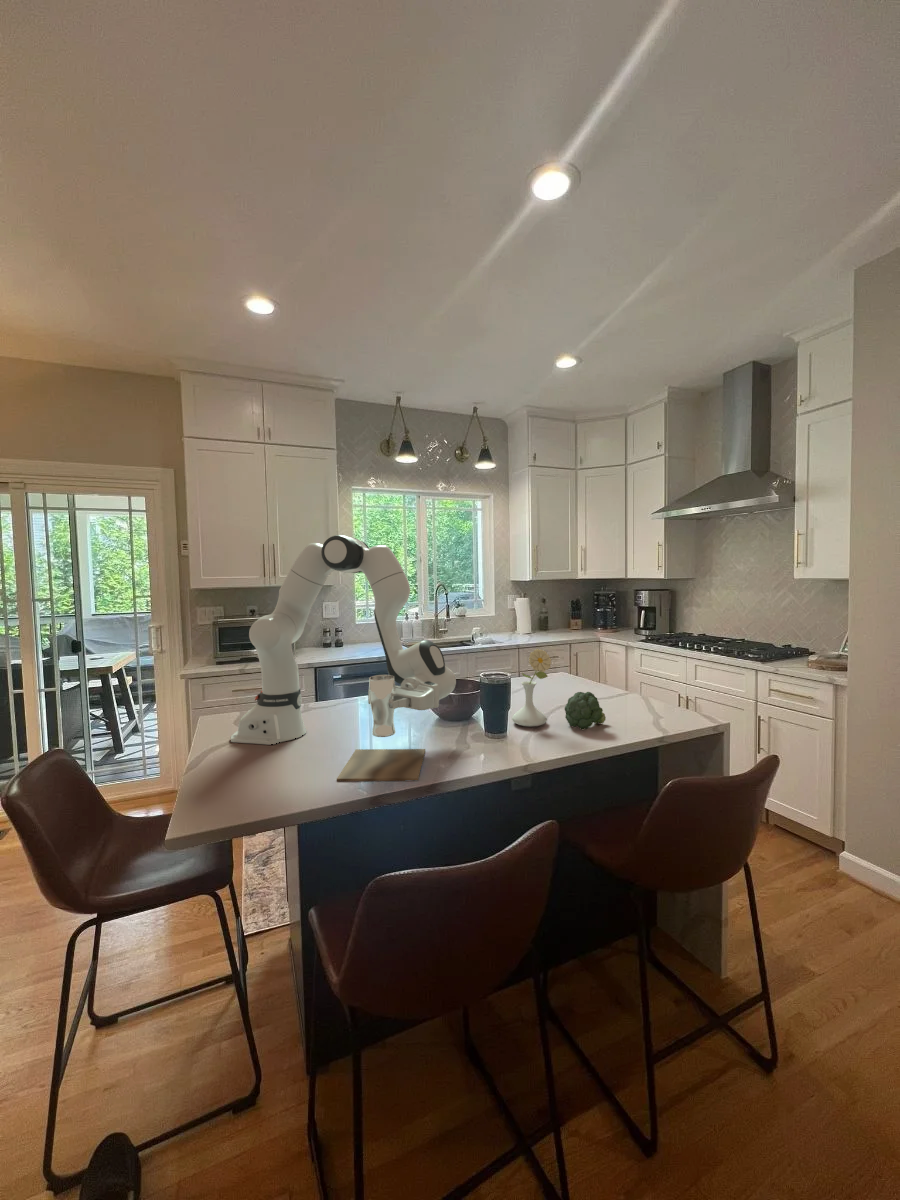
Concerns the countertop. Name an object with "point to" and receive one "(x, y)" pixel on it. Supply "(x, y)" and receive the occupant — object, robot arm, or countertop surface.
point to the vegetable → (583, 710)
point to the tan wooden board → (383, 765)
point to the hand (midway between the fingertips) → (380, 703)
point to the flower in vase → (529, 712)
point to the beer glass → (382, 704)
